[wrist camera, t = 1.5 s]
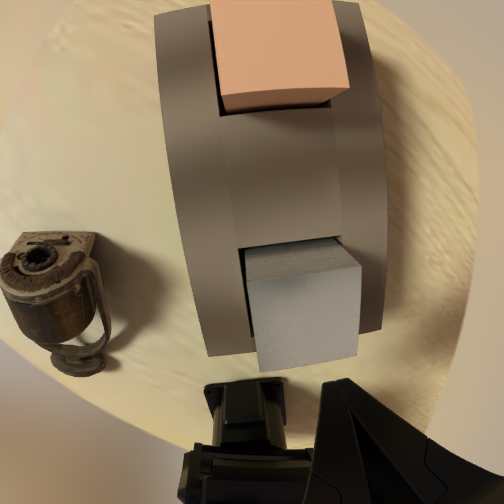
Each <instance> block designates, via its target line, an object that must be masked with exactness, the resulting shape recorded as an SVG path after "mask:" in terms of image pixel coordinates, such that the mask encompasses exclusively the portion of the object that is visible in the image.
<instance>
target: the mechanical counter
mask: <svg viewBox="0 0 504 504" xmlns="http://www.w3.org/2000/svg"><path fill="white" fill-rule="evenodd" d="M95 236H96V235H95V234H94V233H93V232H61V231H43V232H23V233H22V234H21V235H20V237H19V238H18V239H17V241H16V242H15V243H14V245H13V246H12V248H11V249H10V251H9V252H8V253H6V254H5V255H4V257H3V258H1V259H0V287H1V290H2V292H3V294H4V296H5V299H6V301H7V303H8V305H9V307H10V309H11V311H12V314H13V316H14V318H15V320H16V322H17V324H18V326H19V328H20V330H21V331H22V333H23V334H24V335H25V336H26V337H28V338H29V339H31V340H32V341H34V342H35V343H36V344H38V345H39V346H41V347H42V348H44V349H46V350H48V351H50V352H52V354H51V356H50V358H51V362H52V364H53V366H54V367H55V368H57V369H58V370H59V371H61V372H63V373H65V374H67V375H70V376H74V377H89V376H91V375H94V374H96V373H99V372H101V371H102V370H103V369H104V368H105V366H106V361H105V360H104V359H103V357H102V356H101V355H99V354H98V353H99V352H100V351H101V350H103V349H104V348H105V346H106V344H107V343H108V341H109V339H110V335H111V318H110V315H109V311H108V308H107V303H106V298H105V293H104V288H103V283H102V279H101V274H100V269H99V264H98V263H97V262H96V261H95V260H93V259H91V258H90V257H89V255H90V252H91V250H92V247H93V244H94V241H95ZM90 277H91V278H90ZM91 280H92V282H91ZM92 284H93V287H92ZM93 289H94V292H93ZM94 294H95V296H94ZM95 298H96V301H95ZM96 302H97V305H98V309H99V312H100V315H101V319H102V322H103V326H104V331H105V333H104V334H103V335H102V337H101V338H100V339H99V340H98V341H96V342H95V343H92V344H90V345H87V346H75V345H63V344H59V343H63V342H65V341H68V340H71V339H73V338H74V337H76V336H78V335H79V334H80V333H81V332H83V331H84V330H85V329H86V328H87V326H88V325H89V324H90V323H91V321H92V320H93V317H94V315H95V311H96Z"/></svg>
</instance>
